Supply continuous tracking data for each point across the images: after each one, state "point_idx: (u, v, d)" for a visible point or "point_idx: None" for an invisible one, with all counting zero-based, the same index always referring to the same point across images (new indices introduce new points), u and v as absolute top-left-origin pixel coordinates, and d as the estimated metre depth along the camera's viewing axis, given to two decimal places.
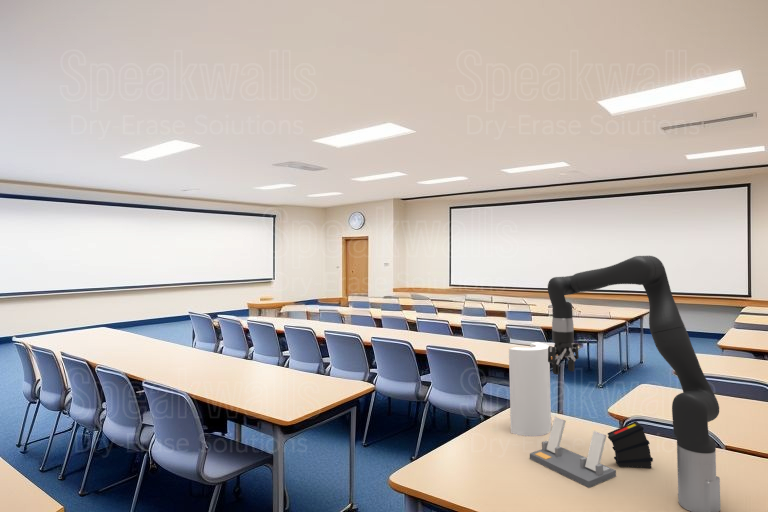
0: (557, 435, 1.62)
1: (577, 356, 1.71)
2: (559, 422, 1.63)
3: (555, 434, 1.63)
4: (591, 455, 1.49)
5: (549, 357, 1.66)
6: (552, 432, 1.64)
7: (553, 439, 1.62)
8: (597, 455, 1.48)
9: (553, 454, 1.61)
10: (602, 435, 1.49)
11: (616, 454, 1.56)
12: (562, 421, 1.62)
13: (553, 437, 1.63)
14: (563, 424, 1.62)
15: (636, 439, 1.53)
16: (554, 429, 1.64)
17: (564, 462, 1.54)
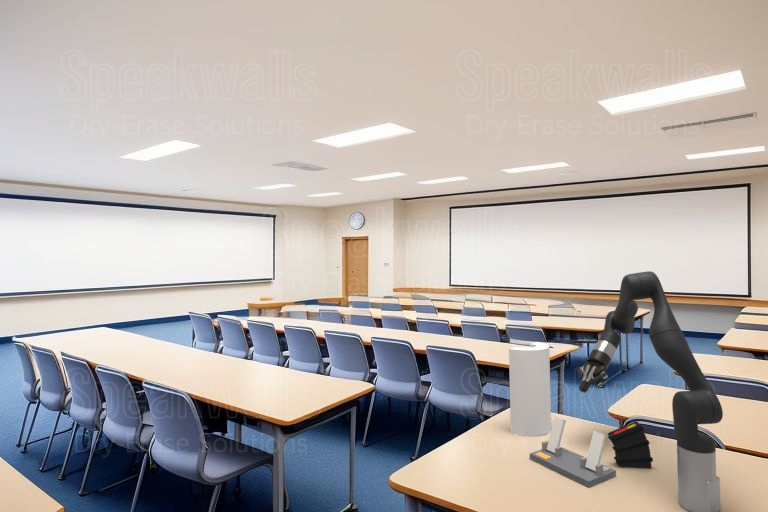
0: (557, 435, 1.62)
1: (593, 379, 1.68)
2: (559, 422, 1.63)
3: (555, 434, 1.63)
4: (591, 455, 1.49)
5: None
6: (552, 432, 1.64)
7: (553, 439, 1.62)
8: (597, 455, 1.48)
9: (553, 454, 1.61)
10: (602, 435, 1.49)
11: (616, 454, 1.56)
12: (562, 421, 1.62)
13: (553, 437, 1.63)
14: (563, 424, 1.62)
15: (636, 439, 1.53)
16: (554, 429, 1.64)
17: (564, 462, 1.54)
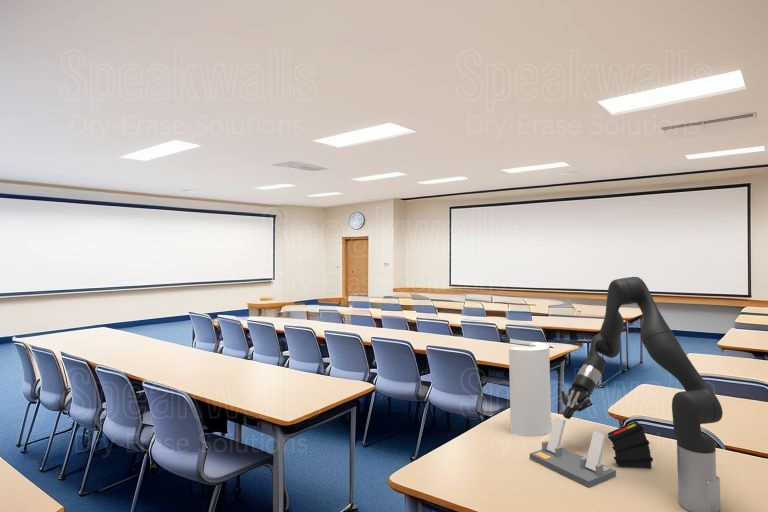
0: (557, 435, 1.62)
1: (577, 405, 1.65)
2: (559, 422, 1.63)
3: (555, 434, 1.63)
4: (591, 455, 1.49)
5: None
6: (552, 432, 1.64)
7: (553, 439, 1.62)
8: (597, 455, 1.48)
9: (553, 454, 1.61)
10: (602, 435, 1.49)
11: (616, 454, 1.56)
12: (562, 421, 1.62)
13: (553, 437, 1.63)
14: (563, 424, 1.62)
15: (636, 439, 1.53)
16: (554, 429, 1.64)
17: (564, 462, 1.54)
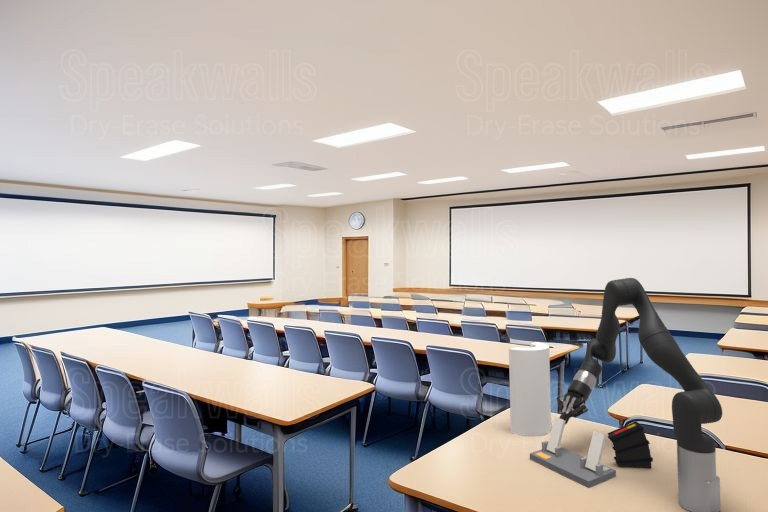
0: (557, 435, 1.62)
1: (573, 411, 1.64)
2: (559, 422, 1.63)
3: (555, 434, 1.63)
4: (591, 455, 1.49)
5: None
6: (552, 432, 1.64)
7: (553, 439, 1.62)
8: (597, 455, 1.48)
9: (553, 454, 1.61)
10: (602, 435, 1.49)
11: (616, 454, 1.56)
12: (562, 421, 1.62)
13: (553, 437, 1.63)
14: (563, 424, 1.62)
15: (636, 439, 1.53)
16: (554, 429, 1.64)
17: (564, 462, 1.54)
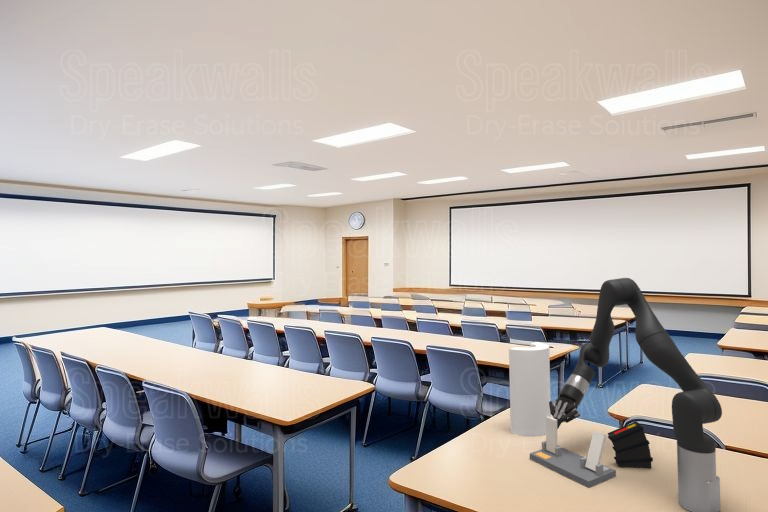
0: (553, 436, 1.61)
1: (564, 416, 1.62)
2: (551, 422, 1.61)
3: (551, 434, 1.61)
4: (591, 455, 1.49)
5: (553, 413, 1.68)
6: (547, 433, 1.63)
7: (550, 440, 1.62)
8: (597, 455, 1.48)
9: (553, 454, 1.61)
10: (602, 435, 1.49)
11: (616, 454, 1.56)
12: (554, 421, 1.60)
13: (549, 438, 1.62)
14: (555, 424, 1.60)
15: (636, 439, 1.53)
16: (548, 430, 1.62)
17: (564, 462, 1.54)
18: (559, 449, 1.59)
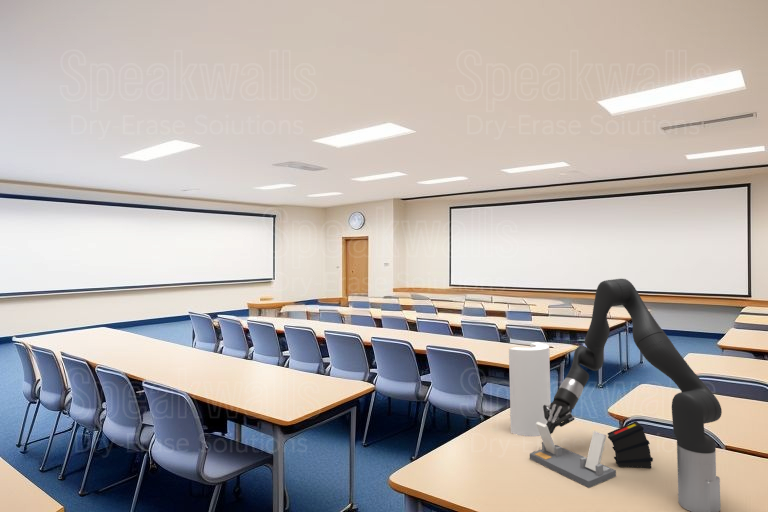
0: (548, 440, 1.59)
1: (558, 420, 1.60)
2: (542, 428, 1.59)
3: (545, 438, 1.60)
4: (591, 455, 1.49)
5: (547, 417, 1.66)
6: (542, 437, 1.61)
7: (547, 443, 1.61)
8: (597, 455, 1.48)
9: (553, 454, 1.61)
10: (602, 435, 1.49)
11: (616, 454, 1.56)
12: (544, 428, 1.58)
13: (545, 441, 1.61)
14: (547, 429, 1.58)
15: (636, 439, 1.53)
16: (542, 434, 1.61)
17: (564, 462, 1.54)
18: (559, 449, 1.59)
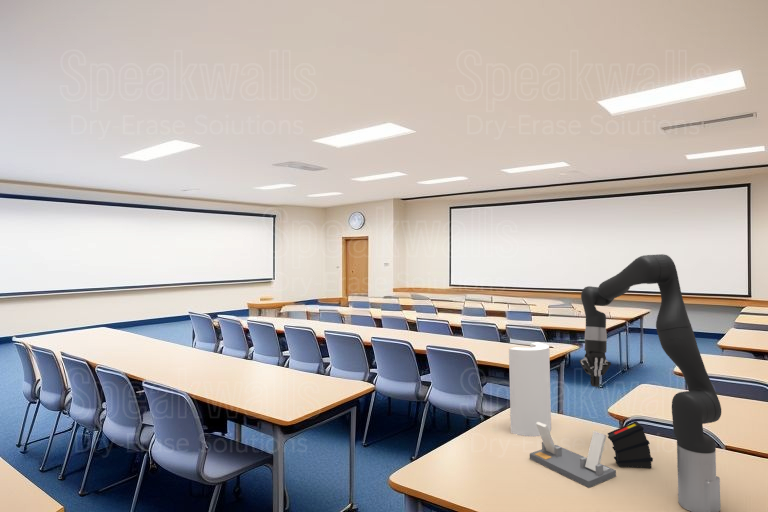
0: (548, 440, 1.59)
1: (603, 372, 1.67)
2: (542, 428, 1.59)
3: (545, 438, 1.60)
4: (591, 455, 1.49)
5: (585, 369, 1.68)
6: (542, 437, 1.61)
7: (547, 443, 1.61)
8: (597, 455, 1.48)
9: (553, 454, 1.61)
10: (602, 435, 1.49)
11: (616, 454, 1.56)
12: (544, 428, 1.58)
13: (545, 441, 1.61)
14: (547, 429, 1.58)
15: (636, 439, 1.53)
16: (542, 434, 1.61)
17: (564, 462, 1.54)
18: (559, 449, 1.59)
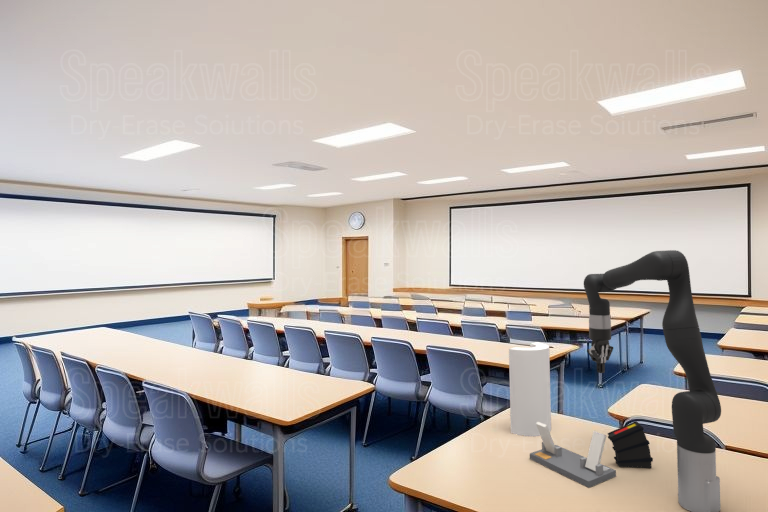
0: (548, 440, 1.59)
1: (608, 357, 1.69)
2: (542, 428, 1.59)
3: (545, 438, 1.60)
4: (591, 455, 1.49)
5: (592, 357, 1.67)
6: (542, 437, 1.61)
7: (547, 443, 1.61)
8: (597, 455, 1.48)
9: (553, 454, 1.61)
10: (602, 435, 1.49)
11: (616, 454, 1.56)
12: (544, 428, 1.58)
13: (545, 441, 1.61)
14: (547, 429, 1.58)
15: (636, 439, 1.53)
16: (542, 434, 1.61)
17: (564, 462, 1.54)
18: (559, 449, 1.59)
